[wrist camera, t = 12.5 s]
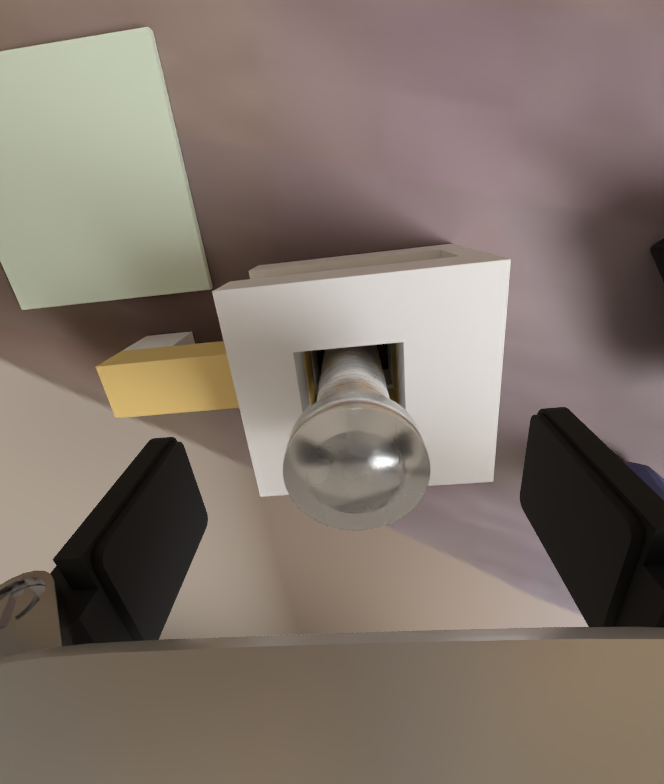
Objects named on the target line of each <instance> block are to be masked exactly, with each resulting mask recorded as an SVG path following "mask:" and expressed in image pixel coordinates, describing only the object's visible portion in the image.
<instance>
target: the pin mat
mask: <svg viewBox="0 0 664 784" xmlns="http://www.w3.org/2000/svg"><path fill="white" fill-rule="evenodd" d="M0 262H1V264H2V266H3V268H4V271H5V273H6V275H7V277H8V280H9V282H10V284H11V286H12V289H13V291H14V293H15V295H16V297H17V300H18V302H19V304H20V306H21V309H22V310H27V309H36V308H45V307H54V306H63V305H73V304H82V303H91V302H100V301H109V300H119V299H128V298H137V297H146V296H155V295H165V294H174V293H183V292H192V291H201V290H210V289H212V288H213V286H212V282H211V277H210V273H209V269H208V265H207V260H206V256H205V252H204V247H203V243H202V239H201V235H200V230H199V226H198V222H197V218H196V213H195V209H194V205H193V200H192V196H191V192H190V188H189V183H188V179H187V175H186V170H185V166H184V162H183V158H182V153H181V149H180V145H179V140H178V136H177V132H176V128H175V123H174V119H173V115H172V111H171V106H170V102H169V98H168V93H167V89H166V85H165V81H164V76H163V72H162V68H161V63H160V59H159V55H158V51H157V46H156V42H155V38H154V34H153V31H152V30H151V29H150V28H149V27H143V28H137V29H131V30H125V31H119V32H113V33H107V34H101V35H95V36H89V37H83V38H77V39H71V40H65V41H59V42H53V43H47V44H41V45H35V46H29V47H23V48H17V49H11V50H5V51H0Z"/></svg>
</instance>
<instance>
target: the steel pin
mask: <svg viewBox="0 0 664 784" xmlns="http://www.w3.org/2000/svg"><path fill="white" fill-rule="evenodd" d="M430 470H431V469H430V460H429V456H428V452H427V450H426V447H425V444H424V441H423V438H422V435H421V432H420V430H419V428H418V425H417V424H416V422H415V420H414V419H413V417H412V416H411V415H410V414H409V413H408V412H407V411H406V410H405V409H404V408H403V407H402V406H401V405H399V404H398V403H396V402H395V401H393V400H391V399H390V398H389V394H388V390H387V386H386V382H385V378H384V374H383V369H382V365H381V361H380V357H379V353H378V349H377V345H367V346H356V347H345V348H335V349H325V350H324V356H323V363H322V369H321V376H320V382H319V389H318V395H317V402H315V403H314V404H312V405H311V406H310V407H308V408H307V409H306V410H305V411H304V412H303V413H302V414H301V415H300V417H299V418H298V419H297V421H296V422H295V424H294V426H293V428H292V431H291V433H290V437H289V440H288V444H287V448H286V452H285V456H284V461H283V479H284V483H285V487H286V489H287V491H288V494H289V496H290V497H291V499H292V500H293V502H294V503H295V504H296V505H297V506H298V508H299V509H301V510H302V511H303V512H304V513H305V514H306V515H308V516H309V517H311V518H312V519H314V520H316V521H318V522H320V523H322V524H324V525H327V526H331V527H334V528H338V529H343V530H369V529H375V528H379V527H383V526H386V525H388V524H391V523H393V522H395V521H397V520H399V519H400V518H402V517H404V516H405V515H406V514H408V513H409V512H410V511H411V510H412V509H413V508H414V507H415V506H416V505H417V504H418V503H419V501H420V500H421V499H422V497H423V495H424V494H425V492H426V489H427V487H428V483H429V479H430Z"/></svg>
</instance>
